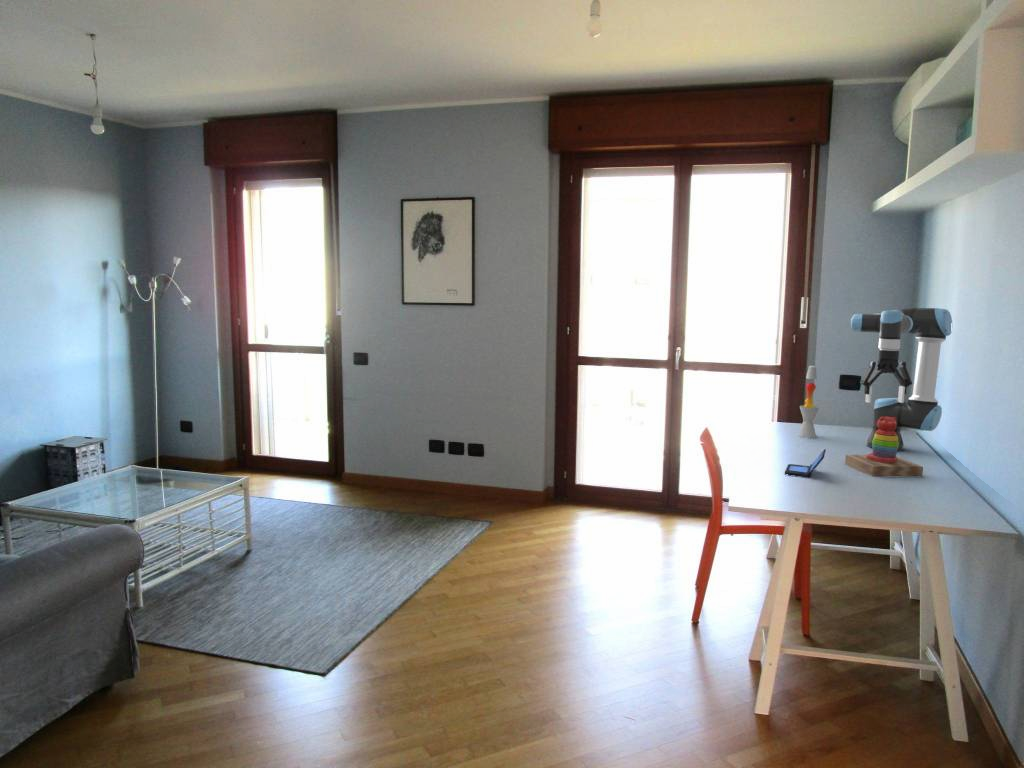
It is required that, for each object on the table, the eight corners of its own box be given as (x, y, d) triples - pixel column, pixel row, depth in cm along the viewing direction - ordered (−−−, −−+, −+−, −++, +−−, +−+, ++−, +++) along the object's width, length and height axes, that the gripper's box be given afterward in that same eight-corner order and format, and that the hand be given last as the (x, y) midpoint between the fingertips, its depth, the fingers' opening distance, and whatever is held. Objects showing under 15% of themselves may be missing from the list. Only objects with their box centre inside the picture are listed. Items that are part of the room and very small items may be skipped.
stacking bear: (892, 458, 287) (896, 414, 285) (903, 464, 277) (907, 419, 275) (864, 457, 288) (868, 413, 286) (874, 462, 278) (878, 418, 276)
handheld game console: (788, 467, 286) (789, 444, 285) (824, 471, 280) (826, 448, 279) (784, 475, 272) (785, 451, 271) (822, 480, 266) (824, 456, 265)
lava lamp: (818, 438, 346) (824, 367, 342) (799, 437, 348) (804, 366, 344) (814, 435, 355) (820, 365, 351) (795, 434, 357) (800, 364, 352)
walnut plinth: (892, 464, 293) (892, 455, 293) (922, 476, 274) (923, 466, 273) (845, 464, 292) (845, 454, 292) (871, 476, 273) (872, 466, 272)
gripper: (912, 348, 286) (908, 400, 289) (853, 348, 284) (849, 400, 287) (924, 350, 278) (920, 403, 281) (863, 350, 277) (859, 403, 280)
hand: (884, 402), depth 284 cm, fingers open, 13 cm apart
